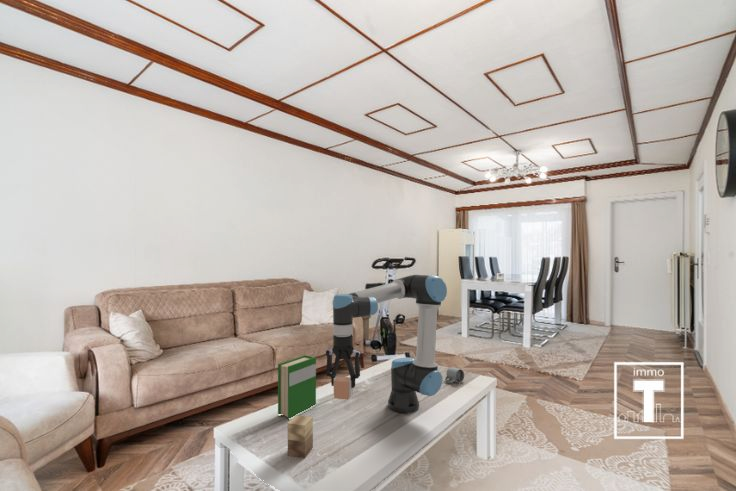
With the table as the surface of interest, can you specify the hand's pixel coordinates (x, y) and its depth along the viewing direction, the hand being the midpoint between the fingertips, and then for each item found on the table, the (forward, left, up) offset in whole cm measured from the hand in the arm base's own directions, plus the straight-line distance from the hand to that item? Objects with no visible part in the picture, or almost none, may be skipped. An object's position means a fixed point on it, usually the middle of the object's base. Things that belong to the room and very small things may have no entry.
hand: (343, 395), depth 139 cm
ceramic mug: (-39, -86, -21) cm, 96 cm away
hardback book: (+32, -26, -21) cm, 46 cm away
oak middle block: (+15, +6, -15) cm, 22 cm away
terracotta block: (0, 0, 0) cm, 0 cm away
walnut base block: (+15, +6, -21) cm, 26 cm away
